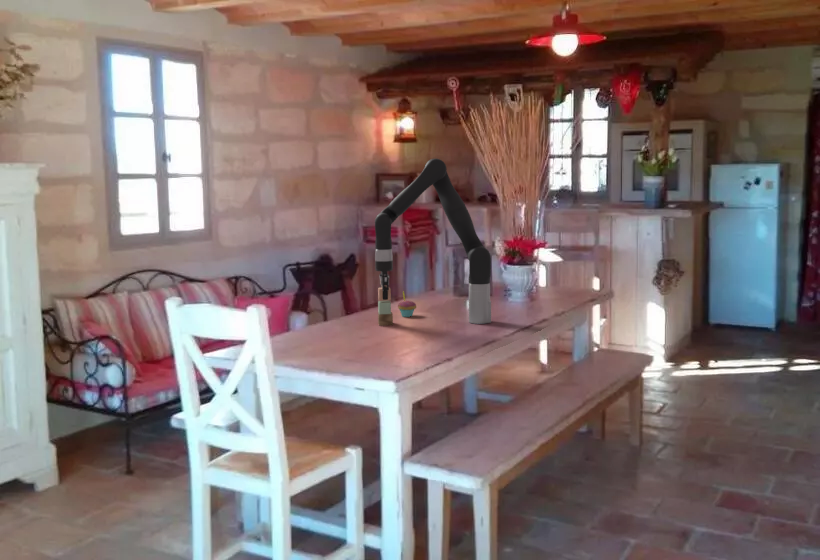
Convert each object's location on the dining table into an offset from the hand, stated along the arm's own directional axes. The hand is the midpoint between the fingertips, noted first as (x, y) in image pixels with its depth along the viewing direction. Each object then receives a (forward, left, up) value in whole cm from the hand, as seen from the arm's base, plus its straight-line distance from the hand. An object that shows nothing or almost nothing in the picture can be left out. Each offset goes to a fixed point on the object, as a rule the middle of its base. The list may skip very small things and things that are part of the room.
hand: (384, 298), depth 374 cm
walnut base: (0, 0, -11) cm, 11 cm away
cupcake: (-12, -18, -12) cm, 25 cm away
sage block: (0, 0, -7) cm, 7 cm away
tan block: (0, 0, 0) cm, 0 cm away
